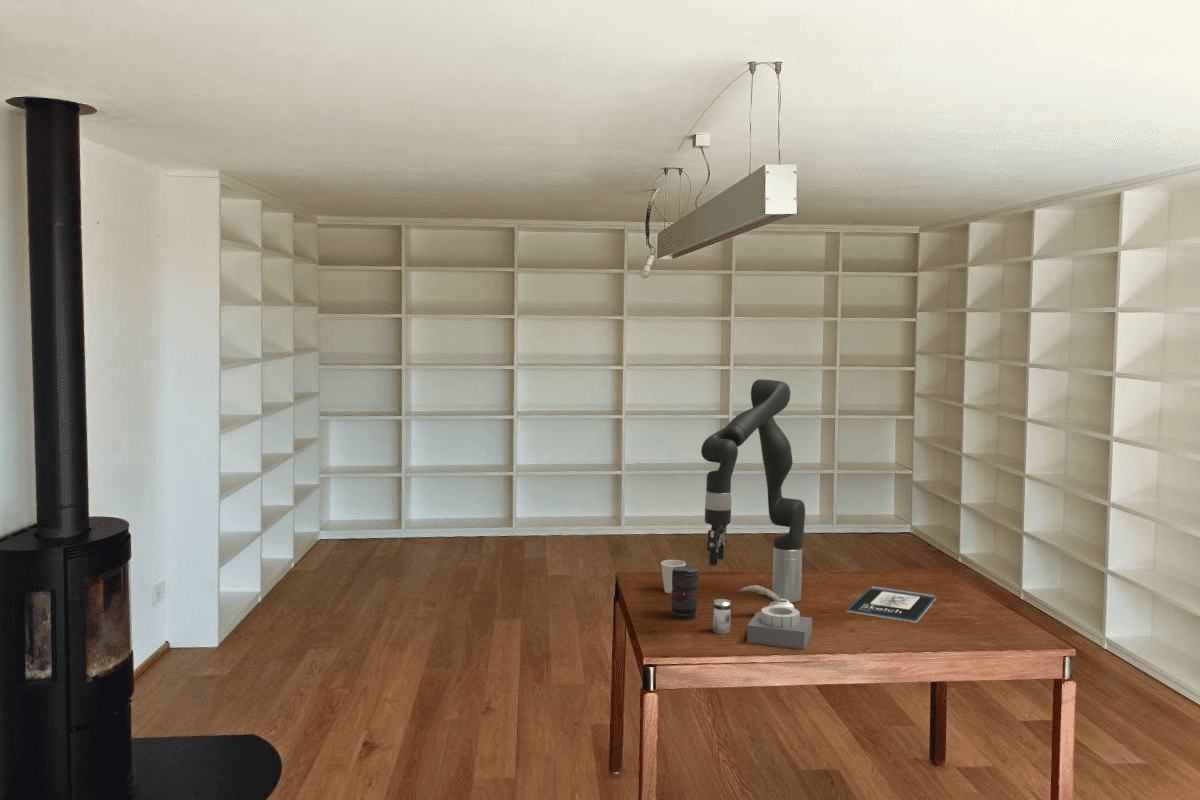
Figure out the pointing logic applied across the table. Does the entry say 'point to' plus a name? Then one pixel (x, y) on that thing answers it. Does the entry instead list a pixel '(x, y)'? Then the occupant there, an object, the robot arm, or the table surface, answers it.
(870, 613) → the sketchbook
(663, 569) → the dixie cup
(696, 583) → the camera lens
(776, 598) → the inkwell
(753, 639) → the grey socket base
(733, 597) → the table surface
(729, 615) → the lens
